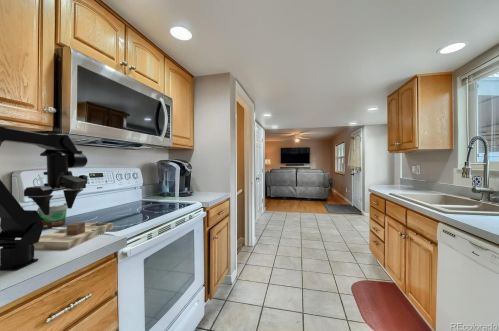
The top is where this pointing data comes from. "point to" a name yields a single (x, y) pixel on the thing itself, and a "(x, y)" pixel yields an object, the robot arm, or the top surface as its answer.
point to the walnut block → (76, 228)
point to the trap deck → (71, 237)
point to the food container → (54, 216)
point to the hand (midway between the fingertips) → (59, 211)
